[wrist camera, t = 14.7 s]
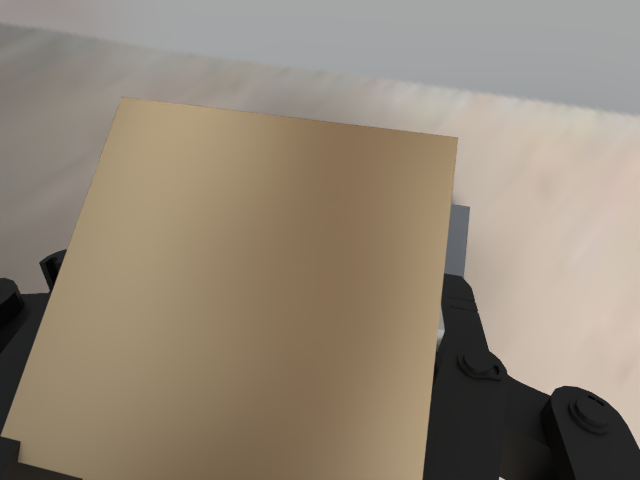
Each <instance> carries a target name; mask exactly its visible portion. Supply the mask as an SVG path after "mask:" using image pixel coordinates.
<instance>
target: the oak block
mask: <svg viewBox="0 0 640 480" xmlns="http://www.w3.org/2000/svg"><path fill="white" fill-rule="evenodd" d="M457 142H458V137H450V136H441V135H433V134H425V133H416V132H408V131H400V130H392V129H383V128H375V127H367V126H358V125H350V124H342V123H334V122H325V121H317V120H309V119H301V118H292V117H284V116H276V115H267V114H259V113H251V112H243V111H234V110H226V109H218V108H209V107H201V106H193V105H185V104H176V103H168V102H160V101H151V100H143V99H135V98H127V97H122V98H121V100H120V103H119V106H118V109H117V112H116V114H115V117H114V120H113V123H112V126H111V128H110V131H109V134H108V137H107V140H106V142H105V145H104V148H103V151H102V154H101V156H100V159H99V162H98V165H97V168H96V170H95V173H94V176H93V179H92V182H91V184H90V187H89V190H88V193H87V196H86V198H85V201H84V204H83V207H82V210H81V212H80V215H79V218H78V221H77V224H76V226H75V229H74V232H73V235H72V238H71V240H70V243H69V246H68V249H67V252H66V254H65V257H64V260H63V263H62V266H61V268H60V271H59V274H58V277H57V280H56V282H55V285H54V288H53V291H52V294H51V296H50V299H49V302H48V305H47V308H46V310H45V313H44V316H43V319H42V322H41V324H40V327H39V330H38V333H37V336H36V338H35V341H34V344H33V347H32V350H31V352H30V355H29V358H28V361H27V364H26V366H25V369H24V372H23V375H22V378H21V380H20V383H19V386H18V389H17V392H16V394H15V397H14V400H13V403H12V406H11V408H10V411H9V414H8V417H7V420H6V422H5V425H4V428H3V431H2V434H1V436H2V437H6V438H10V439H14V440H17V441H21V443H20V450H19V456H18V462H20V463H24V464H28V465H32V466H36V467H40V468H43V469H47V470H51V471H55V472H59V473H63V474H67V475H70V476H74V477H78V478H82V479H86V480H422V479H423V469H424V459H425V450H426V440H427V430H428V421H429V411H430V402H431V392H432V382H433V373H434V363H435V354H436V344H437V334H438V325H439V315H440V306H441V296H442V286H443V277H444V267H445V257H446V248H447V238H448V229H449V219H450V209H451V200H452V190H453V181H454V171H455V161H456V152H457Z"/></svg>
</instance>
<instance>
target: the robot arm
mask: <svg viewBox="0 0 640 480" xmlns="http://www.w3.org/2000/svg"><path fill="white" fill-rule="evenodd" d="M66 252H67V249H66V250H62V251H59V252H56V253H54V254H52V255H50V256H47V257H46V258H45V259H43V260H42V261H41V262H39V264H40V266H41V269H42V271H43V274H44V276H45V279H46V282H47V284H48V287H49V289H50V291H49V293H38V294H20V292H19V290H18V287H17V285H16V284H15V282H14V281H13V280H9V279H6V278H0V480H83V479H82V478H78V477H74V476H70V475H67V474H63V473H59V472H55V471H51V470H47V469H43V468H40V467H36V466H32V465H28V464H24V463H20V462H18V456H19V450H20V443H21V441H17V440H14V439H10V438H6V437H2V436H1V434H2V431H3V428H4V425H5V422H6V420H7V417H8V414H9V411H10V408H11V406H12V403H13V400H14V397H15V394H16V392H17V389H18V386H19V383H20V380H21V378H22V375H23V372H24V369H25V366H26V364H27V361H28V358H29V355H30V352H31V350H32V347H33V344H34V341H35V338H36V336H37V333H38V330H39V327H40V324H41V322H42V319H43V316H44V313H45V310H46V308H47V305H48V302H49V299H50V296H51V294H52V291H53V288H54V285H55V282H56V280H57V277H58V274H59V271H60V268H61V266H62V263H63V260H64V257H65V254H66ZM477 311H478V309H477V306H476V302H475V299H474V295H473V292H472V288H471V287H470V286H469V284H468V283H467V282H466V281H465V280H464V279H463V277H462V276H458V275H452V274H446V273H444V277H443V286H442V296H441V306H440V315H439V325H438V334H437V344H436V354H435V363H434V373H433V382H432V392H431V402H430V411H429V421H428V430H427V440H426V450H425V459H424V469H423V479H422V480H499V477H501V478H503V479H505V480H640V449H639V447H638V445H637V443H636V441H635V439H634V437H633V435H632V433H631V431H630V429H629V427H628V425H627V424H626V422H625V421H624V420H623V418H622V417H621V415H620V414H619V413H618V412H617V411H616V410H615V409H614V408H613V407H612V406H611V405H610V404H609V403H607V402H606V401H605V400H603V399H602V398H600V397H598V396H597V395H595V394H593V393H592V392H589V391H587V390H584V389H581V388H578V387H572V386H562V387H559V388H556V389H555V390H554V392H553V393H552V395H551V396H550V395H547V394H545V393H543V392H540V391H538V390H536V389H534V388H531V387H529V386H527V385H525V384H523V383H521V382H519V381H517V380H515V379H513V378H512V377H510V376H509V375H508V374H507V370H506V368H505V367H504V365H503V364H502V362H501V361H500V359H498V358H497V357H496V356H495V355H494V354H493V353H491V352H490V351H489V349H488V345H487V342H486V338H485V334H484V331H483V327H482V324H481V320H480V317H479V313H477Z"/></svg>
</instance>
